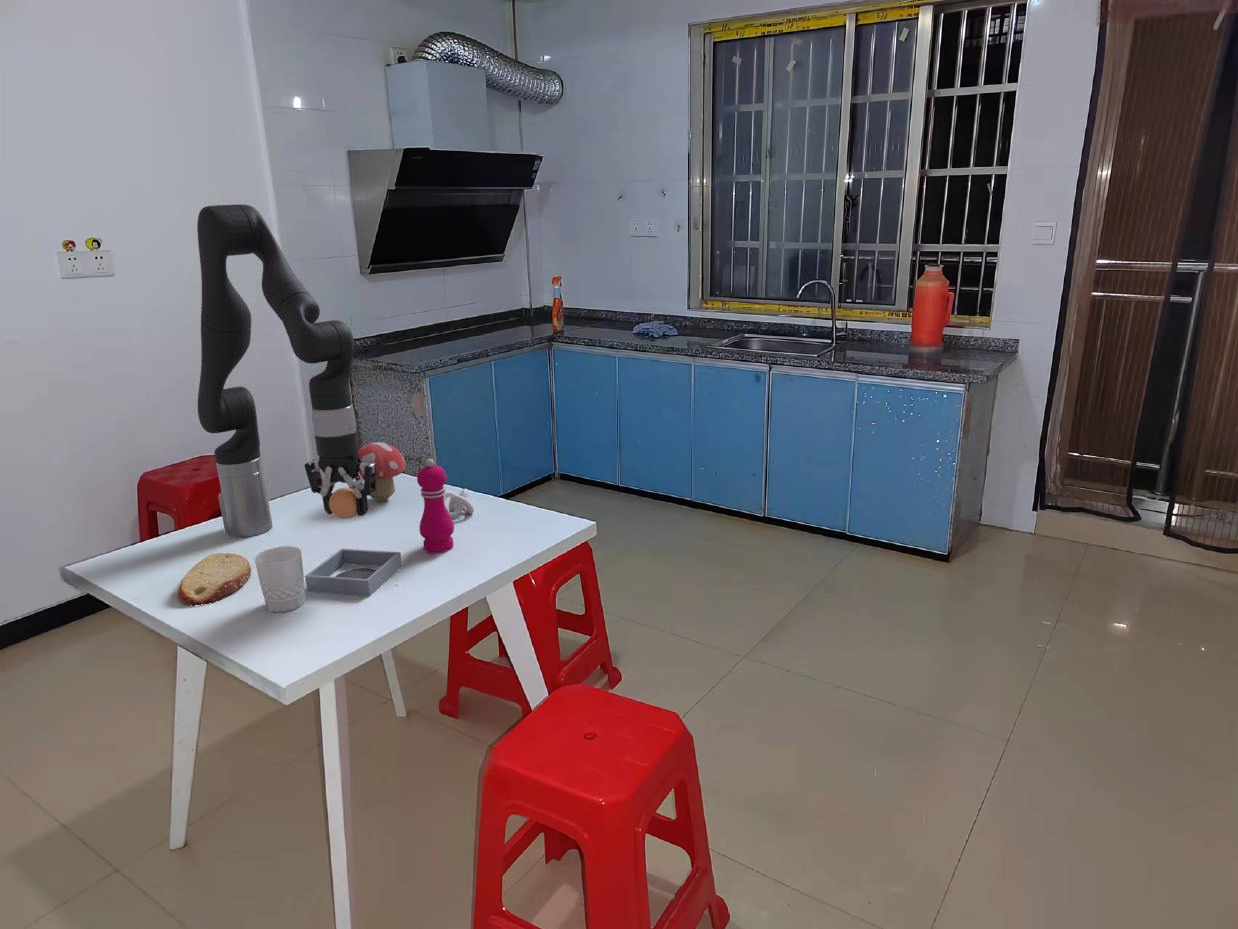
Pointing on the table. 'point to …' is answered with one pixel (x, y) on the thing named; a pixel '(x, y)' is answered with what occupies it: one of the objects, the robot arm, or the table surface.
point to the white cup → (281, 578)
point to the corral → (353, 586)
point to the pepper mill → (434, 510)
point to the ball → (343, 503)
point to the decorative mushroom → (383, 467)
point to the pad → (357, 573)
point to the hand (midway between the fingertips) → (347, 513)
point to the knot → (458, 503)
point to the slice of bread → (214, 579)
